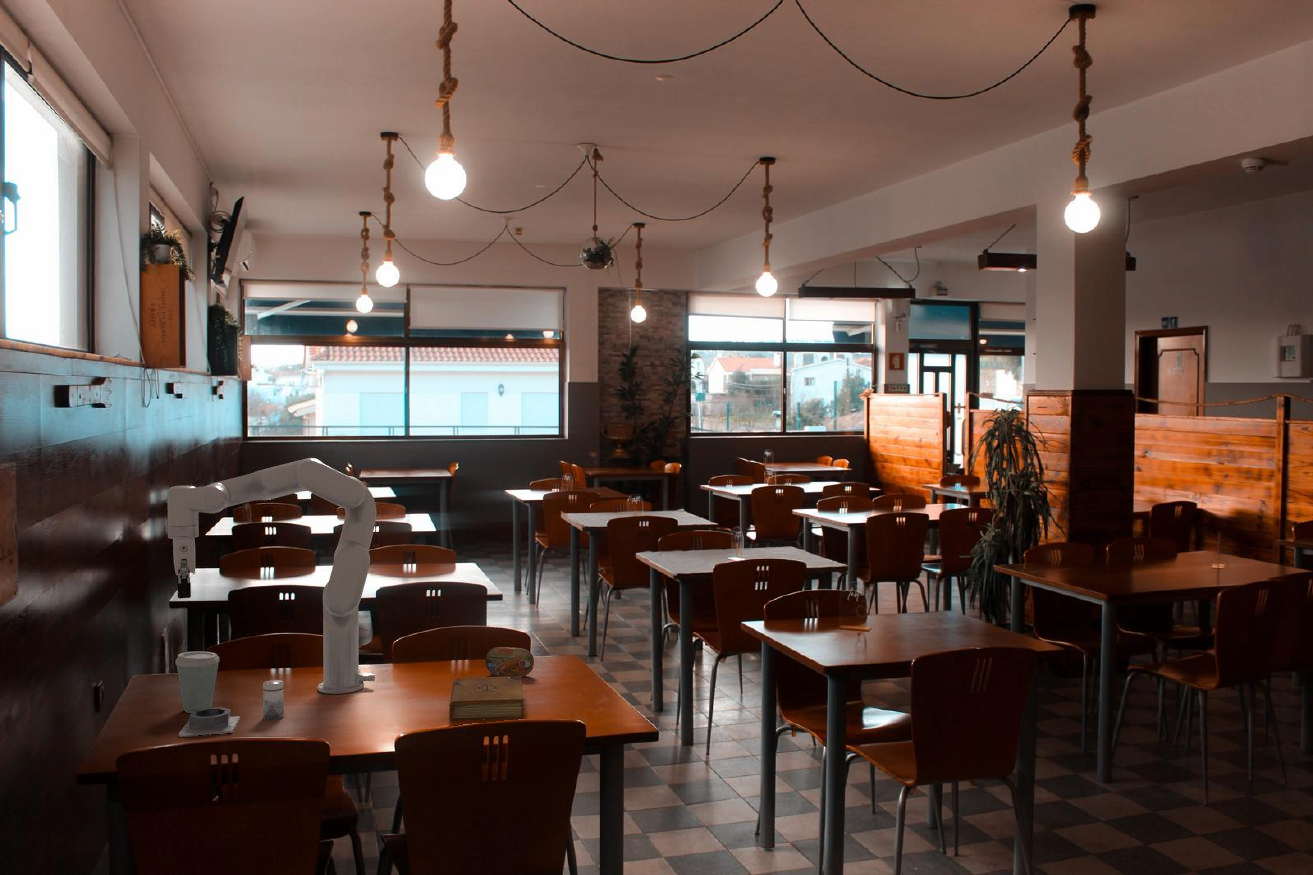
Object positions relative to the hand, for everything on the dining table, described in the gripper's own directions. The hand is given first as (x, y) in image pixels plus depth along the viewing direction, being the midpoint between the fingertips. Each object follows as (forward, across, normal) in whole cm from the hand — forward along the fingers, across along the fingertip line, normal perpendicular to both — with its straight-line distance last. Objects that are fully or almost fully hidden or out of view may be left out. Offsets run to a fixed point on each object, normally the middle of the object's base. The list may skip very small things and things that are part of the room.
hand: (184, 595), depth 280 cm
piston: (+29, -26, -20) cm, 44 cm away
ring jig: (+29, -29, -5) cm, 41 cm away
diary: (+30, -39, -73) cm, 88 cm away
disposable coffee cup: (+29, -11, -3) cm, 31 cm away
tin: (+30, -9, -88) cm, 93 cm away
